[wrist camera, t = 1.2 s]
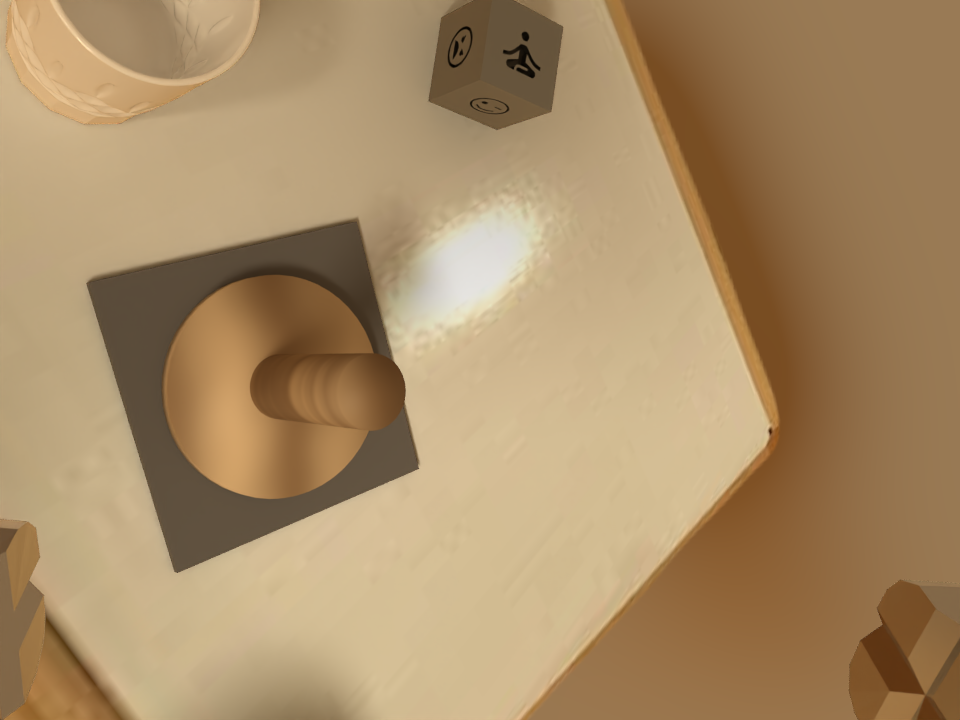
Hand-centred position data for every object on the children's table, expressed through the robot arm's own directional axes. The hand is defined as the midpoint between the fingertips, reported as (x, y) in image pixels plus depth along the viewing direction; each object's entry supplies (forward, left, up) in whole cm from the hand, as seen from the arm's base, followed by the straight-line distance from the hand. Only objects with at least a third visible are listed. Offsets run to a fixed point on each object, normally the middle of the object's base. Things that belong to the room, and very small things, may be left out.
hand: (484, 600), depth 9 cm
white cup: (+9, +14, -36) cm, 40 cm away
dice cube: (+30, +11, -36) cm, 49 cm away
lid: (+13, -3, -36) cm, 38 cm away
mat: (+13, -3, -36) cm, 39 cm away
